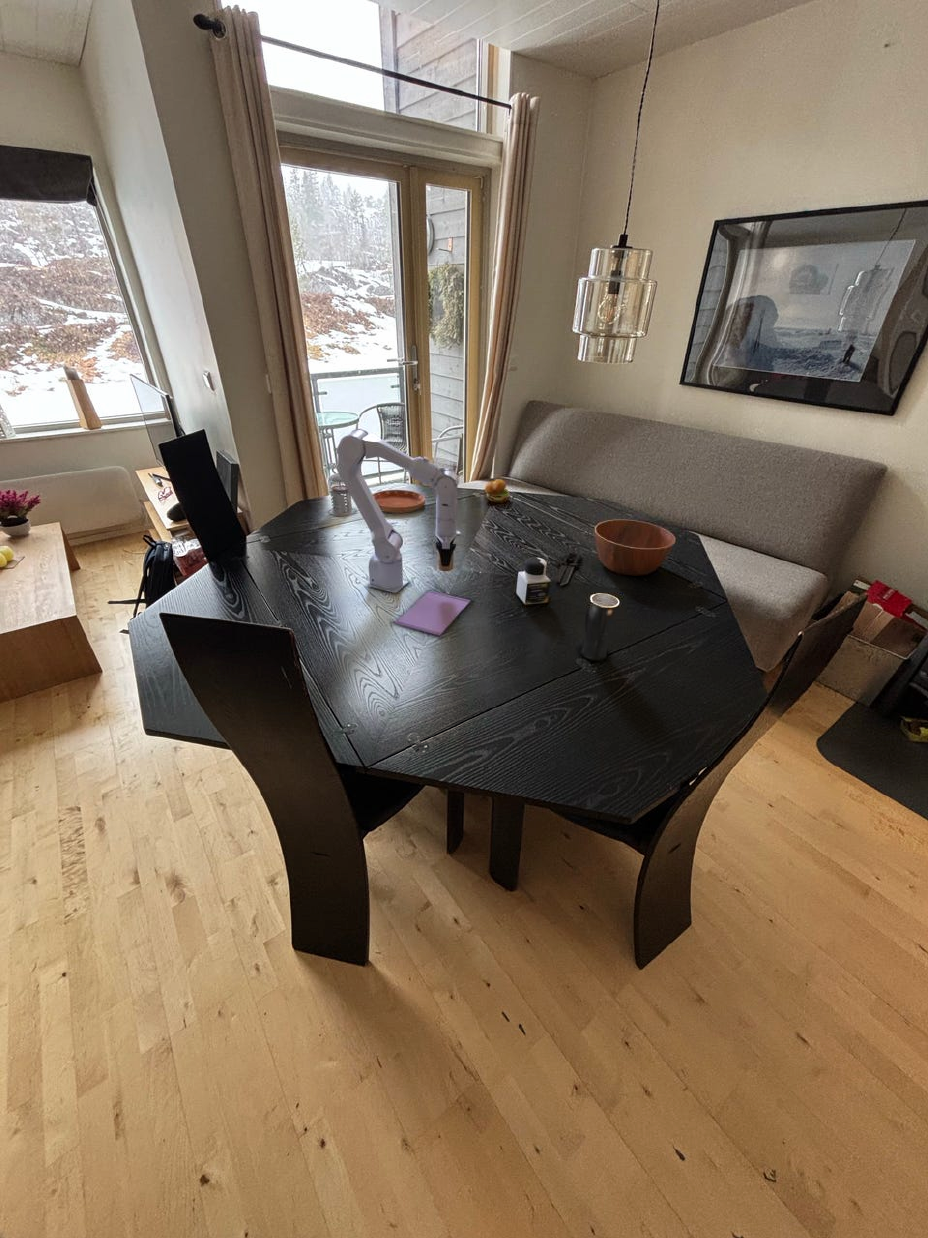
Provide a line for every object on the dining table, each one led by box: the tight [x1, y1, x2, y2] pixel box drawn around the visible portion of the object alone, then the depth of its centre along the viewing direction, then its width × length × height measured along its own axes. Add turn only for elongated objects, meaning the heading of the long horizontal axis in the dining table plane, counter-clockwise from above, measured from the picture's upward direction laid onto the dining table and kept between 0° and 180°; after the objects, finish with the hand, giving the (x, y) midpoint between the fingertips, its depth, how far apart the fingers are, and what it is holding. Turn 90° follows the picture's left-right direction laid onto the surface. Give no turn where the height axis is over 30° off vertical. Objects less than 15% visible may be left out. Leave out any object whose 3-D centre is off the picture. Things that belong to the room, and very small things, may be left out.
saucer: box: [372, 489, 426, 514], centre depth 207 cm, size 23×23×4 cm
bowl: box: [594, 519, 676, 577], centre depth 163 cm, size 25×25×11 cm
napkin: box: [394, 590, 471, 637], centre depth 136 cm, size 13×20×1 cm, turn 156°
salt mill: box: [437, 550, 455, 572], centre depth 142 cm, size 4×4×8 cm
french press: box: [327, 447, 356, 517], centre depth 193 cm, size 10×12×25 cm
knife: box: [554, 551, 581, 586], centre depth 161 cm, size 25×6×1 cm, turn 154°
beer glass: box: [580, 593, 620, 662], centre depth 118 cm, size 7×7×15 cm
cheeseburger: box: [484, 478, 510, 504], centre depth 217 cm, size 10×11×10 cm
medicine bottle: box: [515, 557, 551, 606], centre depth 142 cm, size 7×7×12 cm
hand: (445, 562), depth 143 cm, fingers closed on salt mill, 4 cm apart
